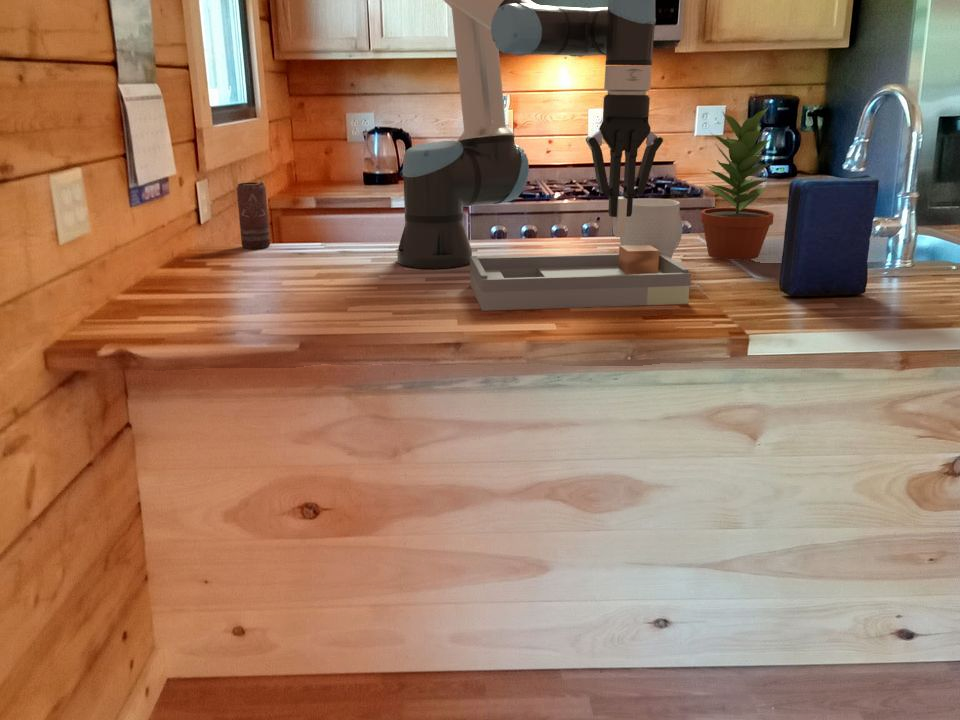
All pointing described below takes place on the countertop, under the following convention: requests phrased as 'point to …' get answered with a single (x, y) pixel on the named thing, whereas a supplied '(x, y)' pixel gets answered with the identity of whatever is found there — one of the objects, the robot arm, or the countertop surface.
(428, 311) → the countertop surface
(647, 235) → the mug
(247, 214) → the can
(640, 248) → the block
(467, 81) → the robot arm
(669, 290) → the pad
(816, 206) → the book
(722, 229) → the potted plant
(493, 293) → the box
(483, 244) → the countertop surface
